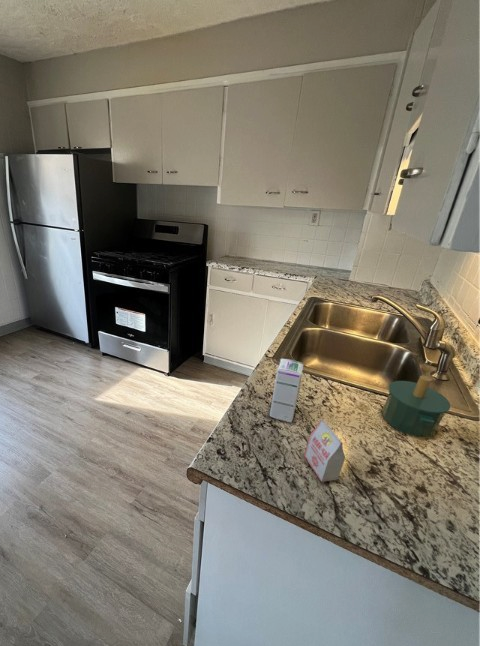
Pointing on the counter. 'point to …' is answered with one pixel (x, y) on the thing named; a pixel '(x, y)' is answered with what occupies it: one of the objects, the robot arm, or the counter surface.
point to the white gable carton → (325, 452)
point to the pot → (410, 419)
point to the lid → (419, 396)
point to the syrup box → (286, 389)
